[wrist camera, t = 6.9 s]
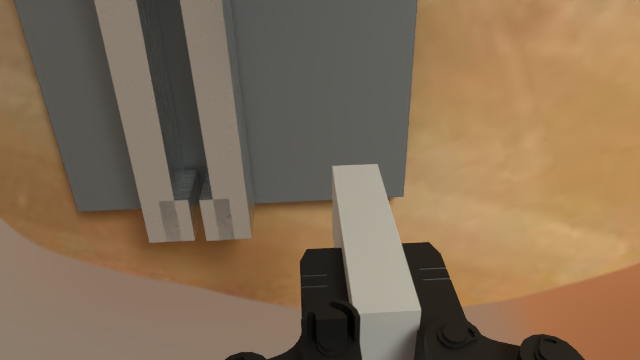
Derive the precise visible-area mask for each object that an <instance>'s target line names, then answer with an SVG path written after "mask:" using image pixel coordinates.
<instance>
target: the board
mask: <svg viewBox="0 0 640 360" xmlns="http://www.w3.org/2000/svg"><path fill="white" fill-rule="evenodd" d="M14 2H15V5H16V8H17V12H18V15H19V18H20V21H21V25H22V28H23V31H24V35H25V38H26V41H27V45H28V48H29V51H30V55H31V58H32V61H33V64H34V68H35V71H36V74H37V78H38V81H39V84H40V88H41V91H42V94H43V97H44V101H45V104H46V107H47V111H48V114H49V117H50V121H51V124H52V127H53V131H54V134H55V137H56V140H57V144H58V147H59V150H60V154H61V157H62V160H63V164H64V167H65V170H66V173H67V177H68V180H69V183H70V187H71V190H72V193H73V197H74V200H75V203H76V207H77V210H78V212H86V211H107V210H128V209H142V208H141V203H140V199H139V195H138V190H137V186H136V181H135V177H134V173H133V168H132V164H131V160H130V155H129V151H128V146H127V142H126V138H125V133H124V129H123V124H122V120H121V116H120V111H119V107H118V103H117V98H116V94H115V89H114V85H113V81H112V76H111V72H110V68H109V63H108V59H107V54H106V50H105V46H104V41H103V37H102V33H101V28H100V24H99V19H98V15H97V11H96V6H95V2H94V0H14ZM156 5H157V11H158V17H159V22H160V28H161V34H162V40H163V46H164V52H165V57H166V63H167V69H168V75H169V81H170V87H171V92H172V98H173V104H174V110H175V116H176V122H177V128H178V133H179V139H180V145H181V151H182V157H183V163H184V168H185V170H197V171H198V178H199V184H200V190H201V192H202V188H203V185H204V181H205V177H206V174H207V170H208V167H207V161H206V155H205V149H204V143H203V137H202V131H201V125H200V119H199V113H198V107H197V101H196V94H195V88H194V82H193V76H192V70H191V64H190V58H189V52H188V46H187V40H186V34H185V28H184V22H183V16H182V10H181V4H180V0H156ZM231 9H232V17H233V26H234V34H235V43H236V51H237V59H238V68H239V76H240V85H241V93H242V102H243V110H244V118H245V127H246V135H247V144H248V152H249V161H250V169H251V177H252V186H253V194H254V203H255V204H257V203H278V202H300V201H321V200H332V166H341V165H365V164H378V167H379V171H380V174H381V177H382V181H383V184H384V187H385V191H386V194H387V197H403V195H404V181H405V167H406V153H407V139H408V125H409V111H410V97H411V83H412V69H413V55H414V41H415V27H416V13H417V0H231Z"/></svg>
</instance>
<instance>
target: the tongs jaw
mask: <svg viewBox="0 0 640 360" xmlns="http://www.w3.org/2000/svg"><path fill="white" fill-rule="evenodd" d="M180 4H181V10H182V16H183V22H184V28H185V34H186V40H187V46H188V52H189V58H190V64H191V70H192V76H193V82H194V88H195V94H196V101H197V107H198V113H199V119H200V125H201V131H202V137H203V143H204V149H205V155H206V161H207V167H208V170H207V174H206V177H205V181H204V185H203V188H202V192H201V196H200V199H199V202H200V208H201V213H202V219H203V224H204V230H205V235H206V241H216V240H232V239H248V238H252V230H253V220H254V210H255V203H254V194H253V186H252V177H251V169H250V161H249V152H248V144H247V135H246V127H245V118H244V110H243V102H242V93H241V85H240V76H239V68H238V59H237V51H236V43H235V34H234V26H233V17H232V9H231V0H180Z"/></svg>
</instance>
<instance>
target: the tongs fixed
mask: <svg viewBox="0 0 640 360" xmlns="http://www.w3.org/2000/svg"><path fill="white" fill-rule="evenodd" d="M94 2H95V6H96V11H97V15H98V19H99V24H100V28H101V33H102V37H103V41H104V46H105V50H106V54H107V59H108V63H109V68H110V72H111V76H112V81H113V85H114V89H115V94H116V98H117V103H118V107H119V111H120V116H121V120H122V124H123V129H124V133H125V138H126V142H127V146H128V151H129V155H130V160H131V164H132V168H133V173H134V177H135V181H136V186H137V190H138V195H139V199H140V203H141V208H142V212H143V216H144V221H145V225H146V230H147V234H148V238H149V243H156V242H176V241H195V238H196V235H197V231H198V227H199V223H200V219H201V215H202V213H201V208H200V202H199V199H200V196H201V190H200V184H199V178H198V171H197V170H185V168H184V163H183V157H182V151H181V145H180V139H179V133H178V128H177V122H176V116H175V110H174V104H173V98H172V92H171V87H170V81H169V75H168V69H167V63H166V57H165V52H164V46H163V40H162V34H161V28H160V22H159V17H158V11H157V5H156V0H94Z"/></svg>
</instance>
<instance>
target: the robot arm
mask: <svg viewBox="0 0 640 360" xmlns="http://www.w3.org/2000/svg"><path fill="white" fill-rule="evenodd" d="M332 211H333V239H334V247H335V248H322V249H307V250H306V252H305V253H304V255H303V257H302V259H301V261H300V276H301V307H302V319H301V328H302V333H301V336H300V339H299V340H298V342H297V343H296V344H295V345H294V347H292V348H291V349H290V350H288V351H287V352H285V353H283V354H281V355H278V356H276V357H273V358H270V359H265V358H264V357H263V356H262V355H259V354H256V353H253V352H241V353H238V354H234V355H231V356H229V357H228V358H226V359H225V360H585V359H584V358H583V357H582V356H581V355H580V354H579V353H578V352H577V350H575V349H574V348H573V347H572V346H571V345H569V344H568V343H567V342H565V341H563V340H561V339H559V338H557V337H554V336H549V335H545V334H540V335H532V336H530V337H528V338H526V339H524V341H523V342H522V344H521V346H517V345H512V344H507V343H503V342H498V341H495V340H491V339H489V338H487V337H485V336H483V335H481V333H480V332H479V330H478V329H477V328H476V327H475V326H474V325H472V324H471V323H470V322H468V321H467V319H466V317H465V315H464V312H463V310H462V307H461V305H460V302H459V299H458V297H457V294H456V292H455V289H454V287H453V284H452V282H451V280H450V277H449V274H448V271H447V269H446V266H445V264H444V261H443V259H442V256H441V254H440V253H439V252H438V251H437V250H436V249H435V248H434V247H433V246H432V245H431V244H430V243H429V242H423V243H402V244H401V241H400V237H399V234H398V231H397V227H396V224H395V221H394V217H393V214H392V211H391V207H390V204H389V201H388V197H387V194H386V191H385V187H384V184H383V181H382V177H381V174H380V171H379V167H378V164H365V165H341V166H332Z"/></svg>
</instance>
